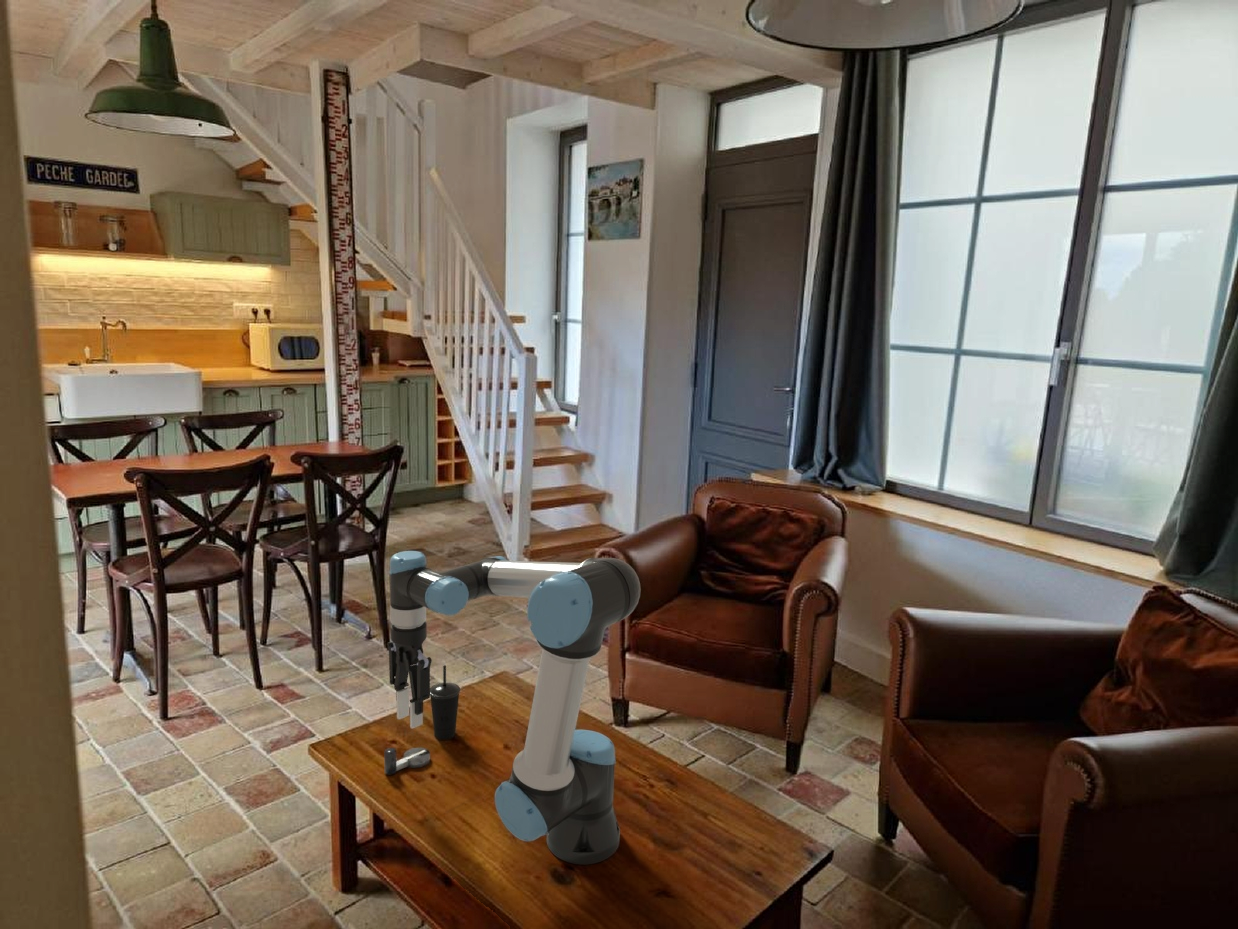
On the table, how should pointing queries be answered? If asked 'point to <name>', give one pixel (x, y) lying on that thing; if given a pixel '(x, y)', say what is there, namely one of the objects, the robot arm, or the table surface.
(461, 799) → the table surface
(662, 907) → the table surface
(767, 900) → the table surface
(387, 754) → the crank
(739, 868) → the table surface
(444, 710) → the drinking cup
